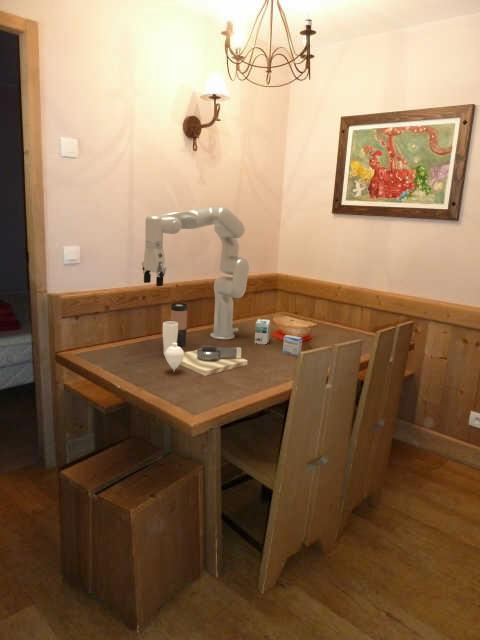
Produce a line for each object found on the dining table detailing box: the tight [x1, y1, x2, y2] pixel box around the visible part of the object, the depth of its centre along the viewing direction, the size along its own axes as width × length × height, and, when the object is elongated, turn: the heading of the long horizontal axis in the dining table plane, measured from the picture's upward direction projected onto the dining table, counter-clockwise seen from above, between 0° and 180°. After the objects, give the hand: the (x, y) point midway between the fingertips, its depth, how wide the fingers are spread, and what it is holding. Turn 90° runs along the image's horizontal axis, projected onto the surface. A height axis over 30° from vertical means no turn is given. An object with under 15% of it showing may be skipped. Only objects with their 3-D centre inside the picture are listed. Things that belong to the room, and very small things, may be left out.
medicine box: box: [282, 334, 303, 357], centre depth 219 cm, size 8×4×9 cm, turn 62°
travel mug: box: [170, 302, 188, 348], centre depth 221 cm, size 8×8×20 cm
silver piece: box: [196, 345, 242, 361], centre depth 200 cm, size 19×10×5 cm, turn 100°
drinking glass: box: [162, 320, 178, 357], centre depth 205 cm, size 7×7×15 cm
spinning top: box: [164, 343, 185, 372], centre depth 185 cm, size 8×8×12 cm
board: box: [179, 349, 248, 377], centre depth 200 cm, size 24×24×2 cm
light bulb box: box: [254, 318, 271, 345], centre depth 238 cm, size 11×7×11 cm, turn 171°
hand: (153, 284), depth 205 cm, fingers open, 9 cm apart
